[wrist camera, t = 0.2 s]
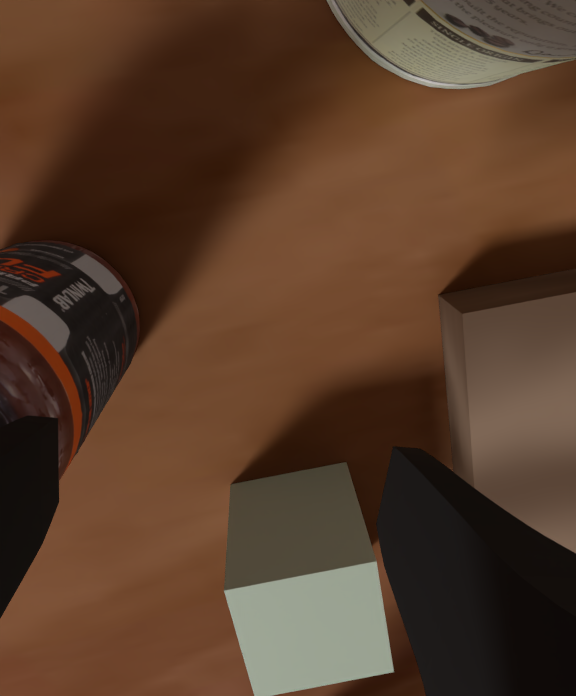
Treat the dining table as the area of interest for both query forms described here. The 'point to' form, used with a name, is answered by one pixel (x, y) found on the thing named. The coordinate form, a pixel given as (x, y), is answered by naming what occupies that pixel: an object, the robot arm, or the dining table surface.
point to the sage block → (304, 582)
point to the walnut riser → (516, 396)
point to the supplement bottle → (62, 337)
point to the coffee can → (461, 37)
